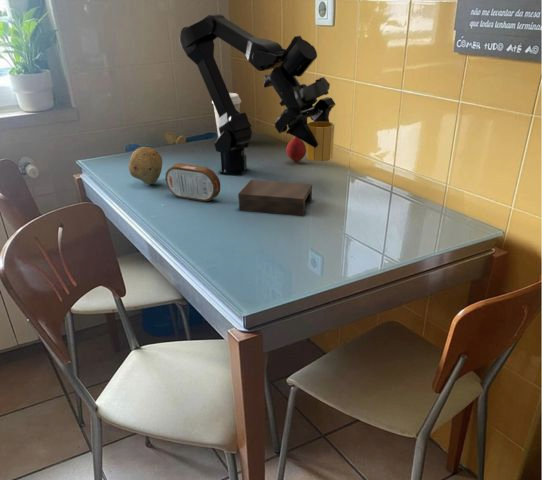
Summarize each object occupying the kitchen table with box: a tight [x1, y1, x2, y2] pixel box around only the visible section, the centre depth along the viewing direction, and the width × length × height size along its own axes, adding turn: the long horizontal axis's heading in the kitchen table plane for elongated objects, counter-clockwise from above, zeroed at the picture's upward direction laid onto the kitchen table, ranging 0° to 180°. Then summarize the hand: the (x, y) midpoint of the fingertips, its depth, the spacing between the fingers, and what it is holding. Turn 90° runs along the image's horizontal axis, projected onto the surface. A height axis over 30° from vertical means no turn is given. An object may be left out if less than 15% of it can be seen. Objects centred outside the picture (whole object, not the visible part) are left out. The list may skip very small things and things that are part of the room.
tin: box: [165, 162, 221, 202], centre depth 137 cm, size 15×3×8 cm, turn 65°
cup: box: [305, 121, 335, 162], centre depth 135 cm, size 6×7×8 cm
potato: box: [128, 146, 163, 185], centre depth 147 cm, size 9×9×10 cm
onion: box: [285, 136, 307, 164], centre depth 162 cm, size 6×6×8 cm
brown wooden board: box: [237, 179, 313, 216], centre depth 134 cm, size 16×11×4 cm
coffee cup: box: [211, 92, 242, 138], centre depth 179 cm, size 10×10×15 cm
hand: (324, 143), depth 134 cm, fingers closed on cup, 6 cm apart
